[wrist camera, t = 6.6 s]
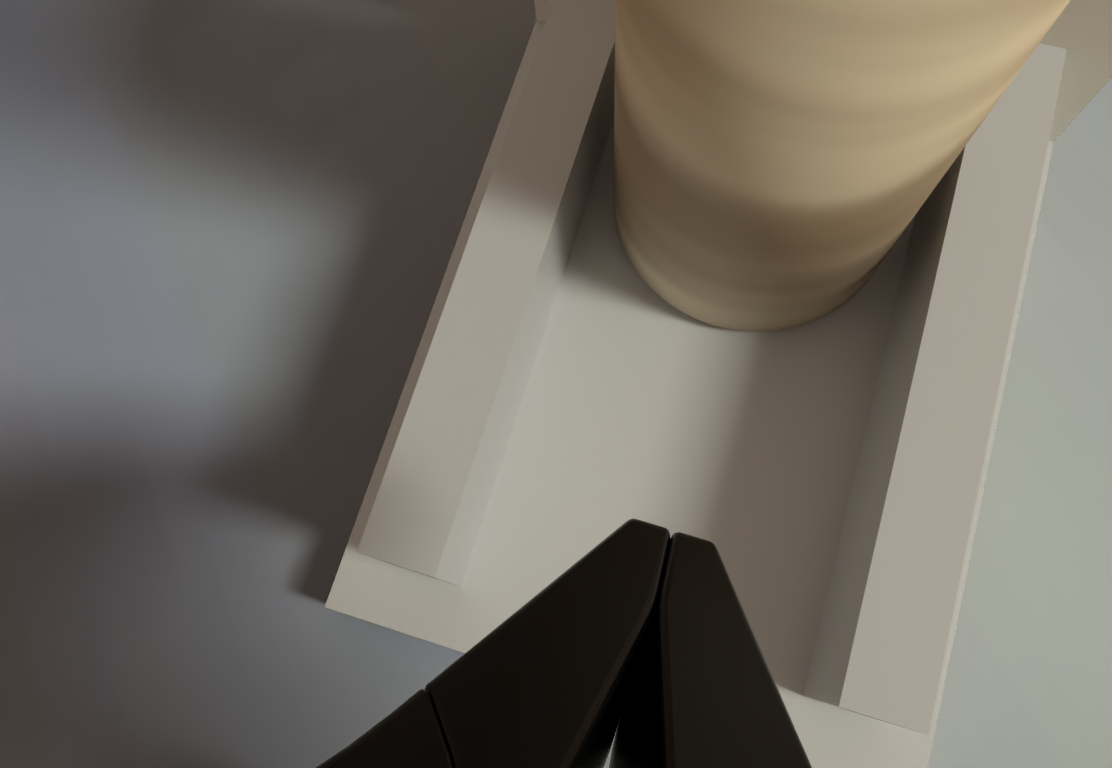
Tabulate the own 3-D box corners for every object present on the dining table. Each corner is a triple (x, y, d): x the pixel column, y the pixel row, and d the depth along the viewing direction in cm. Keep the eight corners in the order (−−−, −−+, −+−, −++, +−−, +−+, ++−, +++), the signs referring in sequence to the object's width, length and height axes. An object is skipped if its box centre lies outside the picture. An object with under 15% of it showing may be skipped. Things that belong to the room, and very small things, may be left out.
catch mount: (905, 794, 15) (1040, 866, 11) (337, 608, 17) (227, 596, 12) (1078, -51, 19) (1234, -280, 14) (608, -149, 21) (608, -391, 16)
